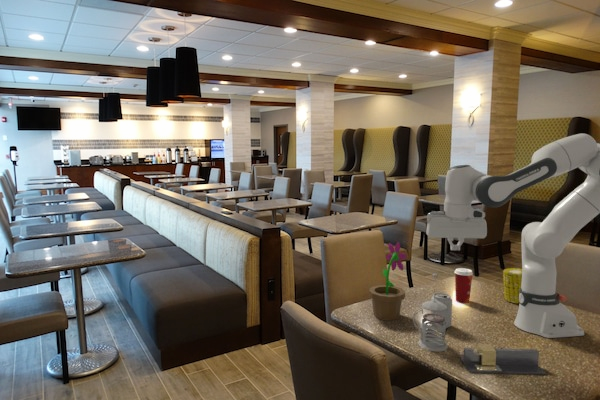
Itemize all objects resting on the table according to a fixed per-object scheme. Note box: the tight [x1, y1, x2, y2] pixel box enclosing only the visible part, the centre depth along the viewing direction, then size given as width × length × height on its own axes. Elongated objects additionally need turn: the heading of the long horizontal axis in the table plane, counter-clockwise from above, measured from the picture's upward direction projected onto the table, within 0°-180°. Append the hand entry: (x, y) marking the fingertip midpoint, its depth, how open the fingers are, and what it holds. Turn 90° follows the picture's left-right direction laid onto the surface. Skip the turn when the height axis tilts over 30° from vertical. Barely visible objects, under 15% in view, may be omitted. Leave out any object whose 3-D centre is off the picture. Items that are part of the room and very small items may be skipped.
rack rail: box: [458, 347, 546, 375], centre depth 127 cm, size 22×10×5 cm, turn 87°
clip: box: [476, 343, 496, 365], centre depth 128 cm, size 4×5×4 cm
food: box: [502, 267, 522, 305], centre depth 182 cm, size 15×12×10 cm
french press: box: [412, 273, 449, 352], centre depth 140 cm, size 10×12×25 cm
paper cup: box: [453, 267, 474, 304], centre depth 182 cm, size 8×8×14 cm
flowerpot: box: [368, 241, 407, 321], centre depth 165 cm, size 14×14×30 cm
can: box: [430, 292, 453, 329], centre depth 156 cm, size 8×8×12 cm
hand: (455, 250), depth 146 cm, fingers closed
